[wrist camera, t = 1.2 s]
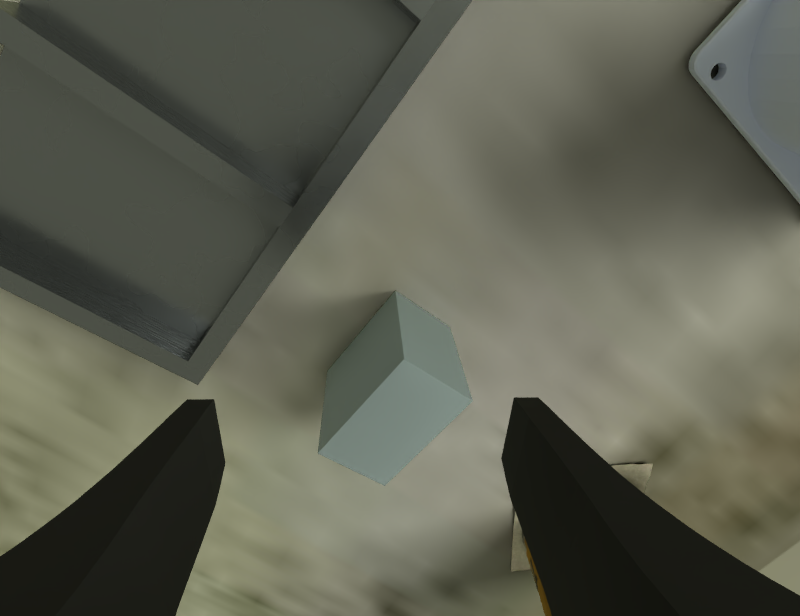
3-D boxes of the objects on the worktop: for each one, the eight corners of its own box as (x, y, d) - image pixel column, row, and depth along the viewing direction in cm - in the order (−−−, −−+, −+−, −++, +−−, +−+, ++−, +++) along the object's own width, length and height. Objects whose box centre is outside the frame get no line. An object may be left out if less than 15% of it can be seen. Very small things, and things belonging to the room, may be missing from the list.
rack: (631, -239, 12) (680, -293, 10) (213, 353, 20) (197, 384, 18) (308, -716, 9) (292, -930, 7) (-44, 218, 17) (-96, 239, 15)
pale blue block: (449, 326, 20) (472, 401, 16) (380, 400, 22) (384, 485, 18) (395, 290, 19) (404, 359, 15) (327, 370, 21) (317, 453, 17)
